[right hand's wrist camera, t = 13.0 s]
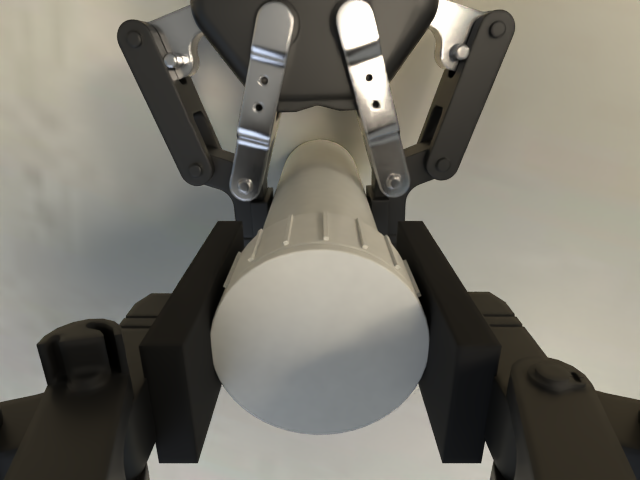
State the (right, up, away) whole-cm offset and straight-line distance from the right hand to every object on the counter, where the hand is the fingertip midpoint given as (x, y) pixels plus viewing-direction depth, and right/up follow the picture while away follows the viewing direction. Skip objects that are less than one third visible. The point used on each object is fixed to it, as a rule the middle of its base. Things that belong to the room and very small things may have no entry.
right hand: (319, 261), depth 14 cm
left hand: (0, -1, +6) cm, 6 cm away
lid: (0, -2, -4) cm, 4 cm away
